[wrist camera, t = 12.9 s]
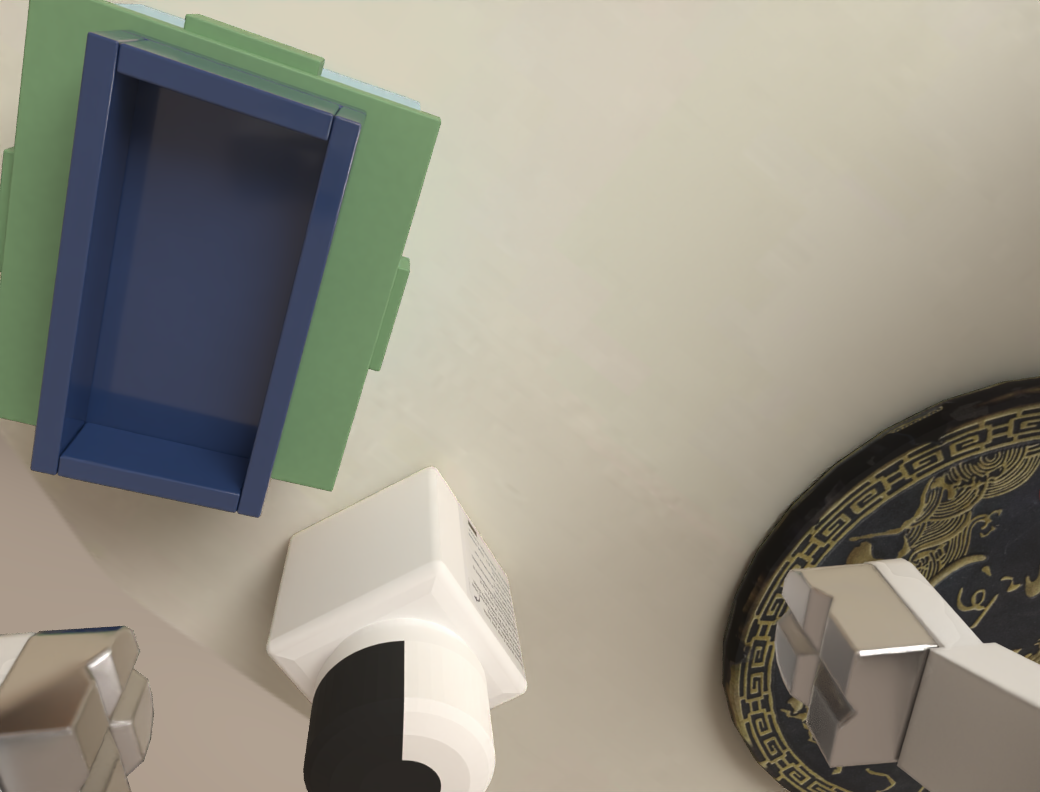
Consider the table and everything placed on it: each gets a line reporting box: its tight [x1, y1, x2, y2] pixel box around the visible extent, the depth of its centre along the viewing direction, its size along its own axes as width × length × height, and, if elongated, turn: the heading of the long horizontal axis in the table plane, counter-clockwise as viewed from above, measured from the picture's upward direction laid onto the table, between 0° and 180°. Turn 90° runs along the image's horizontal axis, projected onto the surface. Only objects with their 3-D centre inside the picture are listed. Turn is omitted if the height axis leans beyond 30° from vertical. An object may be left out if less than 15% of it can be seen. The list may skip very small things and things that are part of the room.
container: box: [266, 466, 527, 792], centre depth 33 cm, size 8×8×13 cm
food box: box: [0, 0, 441, 491], centre depth 28 cm, size 14×12×8 cm
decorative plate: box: [723, 377, 1040, 792], centre depth 45 cm, size 30×2×30 cm
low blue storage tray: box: [31, 30, 367, 518], centre depth 23 cm, size 12×6×3 cm, turn 161°
